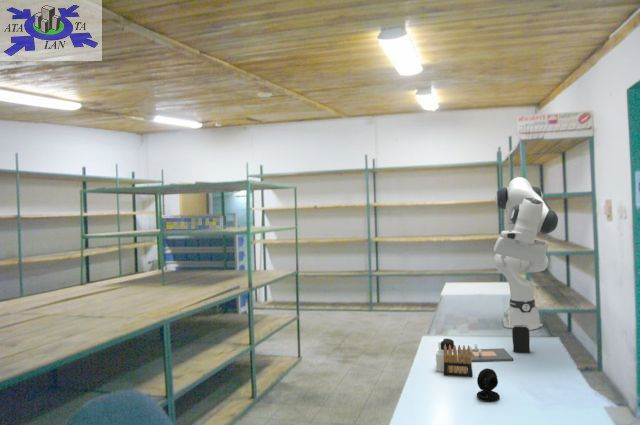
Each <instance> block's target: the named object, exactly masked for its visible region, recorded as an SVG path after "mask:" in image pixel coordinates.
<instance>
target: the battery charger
mask: <svg viewBox="0 0 640 425" xmlns="http://www.w3.org/2000/svg"><path fill="white" fill-rule="evenodd" d="M511 335H512V337H511V338H512V351H513V352H514V353H525V354H526V353H527V354H530V353H531V349H530V348H531V347H530V346H531V344H530V343H531V342H530V340H531V339H530V338H531V337H530V336H531V335H530V330H529V328H528V327H527V326H525V325H515V326H513V328H511Z"/></svg>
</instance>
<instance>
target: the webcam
mask: <svg viewBox="0 0 640 425" xmlns="http://www.w3.org/2000/svg"><path fill="white" fill-rule="evenodd" d="M476 383H477V387H478V388H479V389H480V390H479V391H478V392H477V393H476V398H477V399H478V400H480V401H483V402H489V403H490V402H491V403H492V402H497V401H499V400H500V394H499V393H498V392H496V391H493V390H494V389H495V388H497V386H498V384H499V379H498V375H497V372H495V370H494V369H491V368H484V369H482V370H481V371H480V372H479V373H478V375H477V379H476ZM484 395H486V396H484Z"/></svg>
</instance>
